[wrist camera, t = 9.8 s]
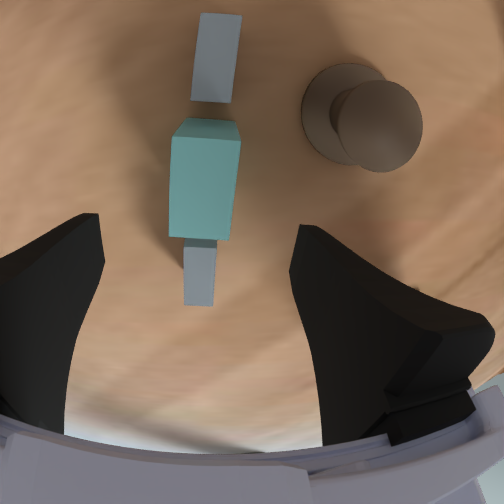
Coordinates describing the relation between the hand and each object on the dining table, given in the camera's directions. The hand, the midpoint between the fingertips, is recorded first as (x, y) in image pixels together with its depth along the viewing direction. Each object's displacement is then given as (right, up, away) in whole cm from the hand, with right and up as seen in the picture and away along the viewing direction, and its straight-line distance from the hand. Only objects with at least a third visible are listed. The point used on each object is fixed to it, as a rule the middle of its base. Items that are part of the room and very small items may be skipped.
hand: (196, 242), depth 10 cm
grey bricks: (-1, +5, +8) cm, 10 cm away
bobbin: (+8, +9, +7) cm, 14 cm away
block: (-1, +6, +8) cm, 10 cm away
